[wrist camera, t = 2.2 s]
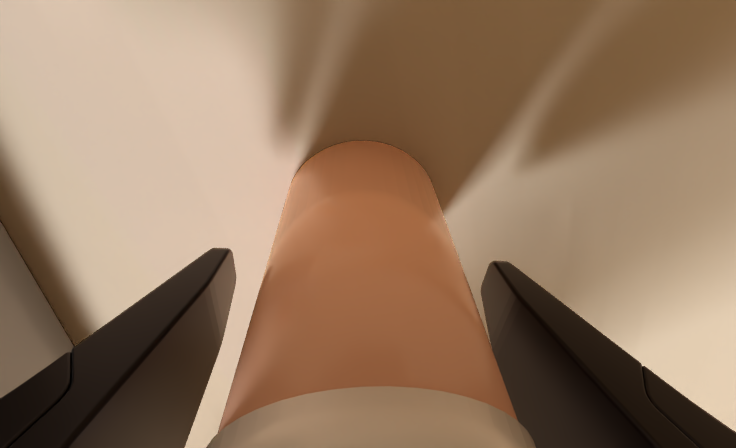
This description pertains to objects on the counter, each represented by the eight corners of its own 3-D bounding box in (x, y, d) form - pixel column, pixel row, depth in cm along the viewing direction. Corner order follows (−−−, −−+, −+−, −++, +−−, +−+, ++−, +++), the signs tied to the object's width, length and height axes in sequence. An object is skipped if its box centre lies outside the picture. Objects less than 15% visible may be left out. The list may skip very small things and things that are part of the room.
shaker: (424, 271, 12) (503, 611, 6) (286, 265, 12) (206, 619, 6) (454, 143, 10) (655, 497, 3) (279, 130, 9) (113, 498, 3)
